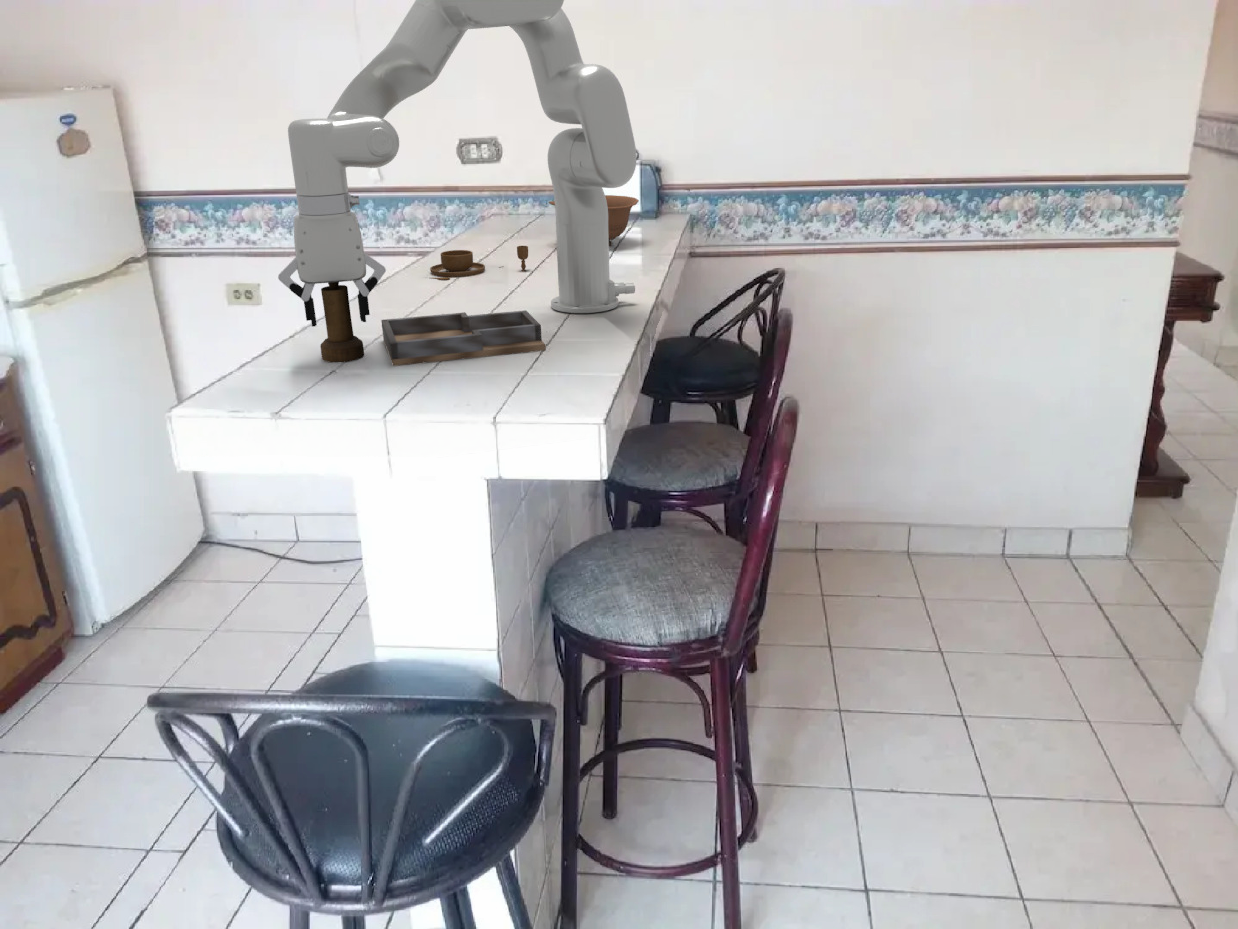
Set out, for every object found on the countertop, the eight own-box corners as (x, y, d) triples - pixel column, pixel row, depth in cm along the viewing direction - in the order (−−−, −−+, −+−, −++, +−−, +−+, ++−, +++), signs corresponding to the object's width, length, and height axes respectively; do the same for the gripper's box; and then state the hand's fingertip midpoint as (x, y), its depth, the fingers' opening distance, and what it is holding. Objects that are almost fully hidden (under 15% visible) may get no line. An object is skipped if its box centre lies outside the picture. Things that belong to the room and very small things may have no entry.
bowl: (538, 242, 256) (536, 197, 252) (618, 234, 264) (617, 191, 260) (568, 256, 237) (566, 208, 233) (653, 247, 245) (653, 201, 241)
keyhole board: (524, 326, 176) (522, 307, 175) (545, 350, 162) (544, 328, 160) (383, 340, 170) (381, 319, 168) (393, 365, 155) (390, 343, 154)
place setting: (461, 265, 233) (459, 239, 231) (534, 272, 224) (532, 245, 221) (411, 279, 219) (409, 252, 217) (487, 287, 210) (485, 259, 207)
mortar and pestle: (313, 361, 159) (297, 245, 152) (336, 350, 164) (322, 238, 158) (350, 364, 157) (335, 246, 150) (372, 353, 162) (359, 239, 156)
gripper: (380, 199, 157) (392, 312, 164) (263, 206, 153) (280, 322, 159) (385, 205, 151) (397, 322, 157) (262, 212, 146) (280, 333, 153)
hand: (338, 321), depth 158 cm, fingers open, 6 cm apart
